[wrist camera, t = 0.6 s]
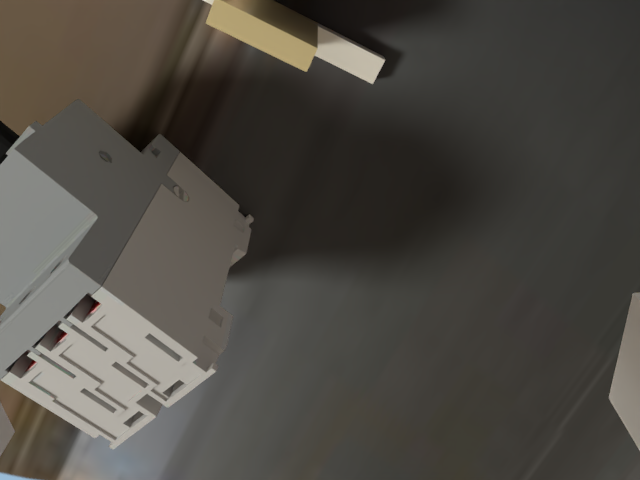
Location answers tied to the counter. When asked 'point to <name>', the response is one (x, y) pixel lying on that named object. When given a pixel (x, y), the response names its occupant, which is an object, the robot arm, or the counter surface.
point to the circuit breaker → (110, 272)
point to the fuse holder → (291, 36)
